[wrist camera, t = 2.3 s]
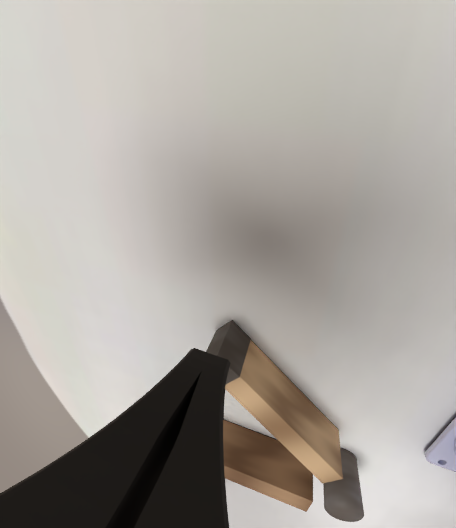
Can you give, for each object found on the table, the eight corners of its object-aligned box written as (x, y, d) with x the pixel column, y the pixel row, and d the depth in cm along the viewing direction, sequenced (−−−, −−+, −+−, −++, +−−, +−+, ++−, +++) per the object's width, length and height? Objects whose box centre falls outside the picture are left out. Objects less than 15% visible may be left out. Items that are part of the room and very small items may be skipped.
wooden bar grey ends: (339, 429, 22) (343, 480, 18) (320, 435, 22) (322, 485, 19) (232, 320, 20) (217, 354, 17) (216, 330, 21) (199, 365, 18)
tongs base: (361, 455, 22) (370, 509, 19) (345, 479, 24) (350, 532, 20) (180, 389, 24) (161, 426, 21) (177, 414, 26) (158, 452, 23)
